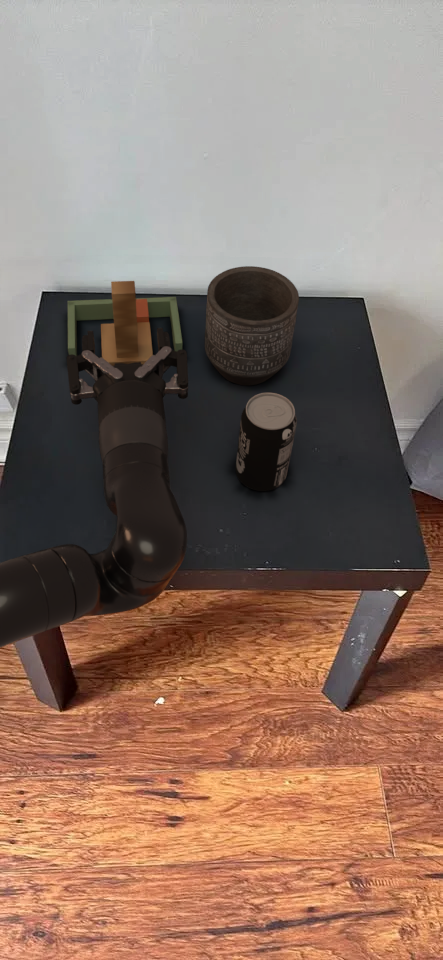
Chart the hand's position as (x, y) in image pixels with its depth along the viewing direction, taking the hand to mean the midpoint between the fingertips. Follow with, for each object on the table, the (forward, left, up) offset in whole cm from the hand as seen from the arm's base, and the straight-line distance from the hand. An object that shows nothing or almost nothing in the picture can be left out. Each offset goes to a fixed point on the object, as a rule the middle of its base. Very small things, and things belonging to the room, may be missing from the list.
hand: (125, 334), depth 93 cm
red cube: (+2, +15, -12) cm, 19 cm away
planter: (+17, +6, -12) cm, 22 cm away
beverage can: (+16, -14, -12) cm, 25 cm away
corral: (0, +13, -12) cm, 18 cm away
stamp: (0, +9, -12) cm, 15 cm away
